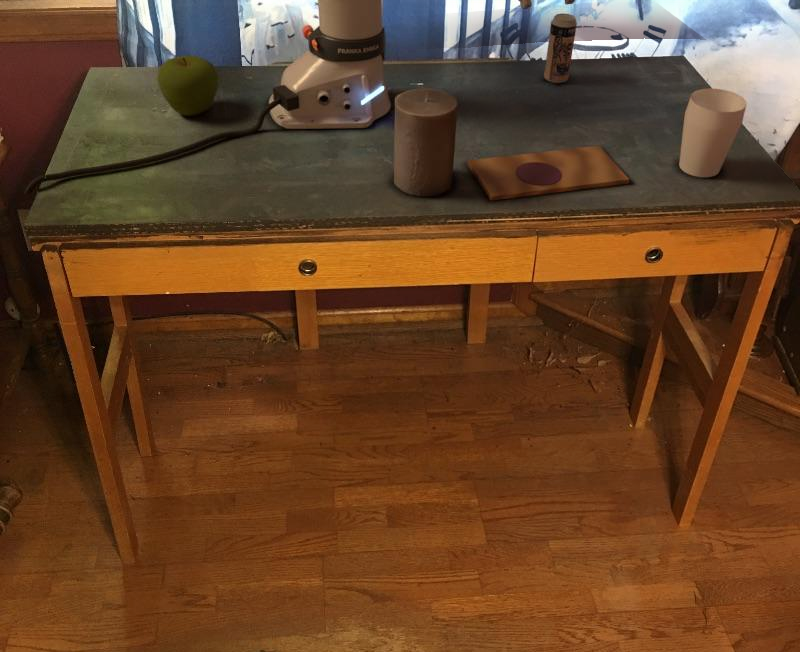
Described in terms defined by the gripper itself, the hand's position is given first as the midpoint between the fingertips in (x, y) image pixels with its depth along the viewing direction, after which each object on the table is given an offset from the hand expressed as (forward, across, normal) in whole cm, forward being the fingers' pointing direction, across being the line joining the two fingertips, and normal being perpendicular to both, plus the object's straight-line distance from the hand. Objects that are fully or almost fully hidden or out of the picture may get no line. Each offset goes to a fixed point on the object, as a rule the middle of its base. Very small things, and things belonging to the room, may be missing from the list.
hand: (548, 5), depth 167 cm
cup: (+41, -7, +24) cm, 48 cm away
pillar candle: (+35, +39, +18) cm, 55 cm away
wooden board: (+37, +19, +20) cm, 46 cm away
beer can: (+13, 0, -4) cm, 14 cm away
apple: (+9, +71, -8) cm, 72 cm away
